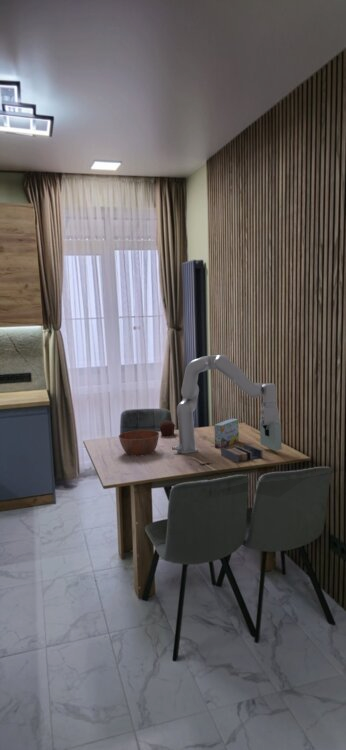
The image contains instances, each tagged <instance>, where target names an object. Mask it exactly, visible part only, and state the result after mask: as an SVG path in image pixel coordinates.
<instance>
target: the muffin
mask: <svg viewBox="0 0 346 750" xmlns="http://www.w3.org/2000/svg"><path fill="white" fill-rule="evenodd" d="M175 428H176V425H175V423H174V422H173V421H171V420H164V421H162V422H161V423H160V424H159V429H160V434H161V437H164V436H165V437H167V436H168V437H173V436H174V435H175ZM172 435H173V436H172Z"/></svg>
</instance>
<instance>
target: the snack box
mask: <svg viewBox="0 0 346 750" xmlns="http://www.w3.org/2000/svg"><path fill="white" fill-rule="evenodd" d="M213 426H214V427H213V428H214V448H215V449H221V448H222V447H223V448H226V447H229V446H231V445H233V444H236V443H238V442H239V441H240V439H239V437H240V436H239V434H240V432H239V418H238V419H237V418H230V419H227V420H223V421H221V422H218V423H216V424H214V425H213Z"/></svg>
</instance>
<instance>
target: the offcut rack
mask: <svg viewBox="0 0 346 750" xmlns="http://www.w3.org/2000/svg"><path fill="white" fill-rule="evenodd" d="M233 448H236V449H238V450H240V451H243V452H245V453H247V460H243V461H239V455H238V454H236V453H234V452H232V451H229V450H227V449H228V448H226V447H224V448H223V447H222V448H220V456H222V457H224V458H226V459H228V460H229V461H232V462H234V463H236V464H240V463H244V462H249V461H255V460H259V459H263V454H264V453H263V450H262V449H260V448H257V447H255V446H253V445H250V444H248V443H243V447H241V446H239V445H236V444H235V445H234V446H233Z"/></svg>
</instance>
